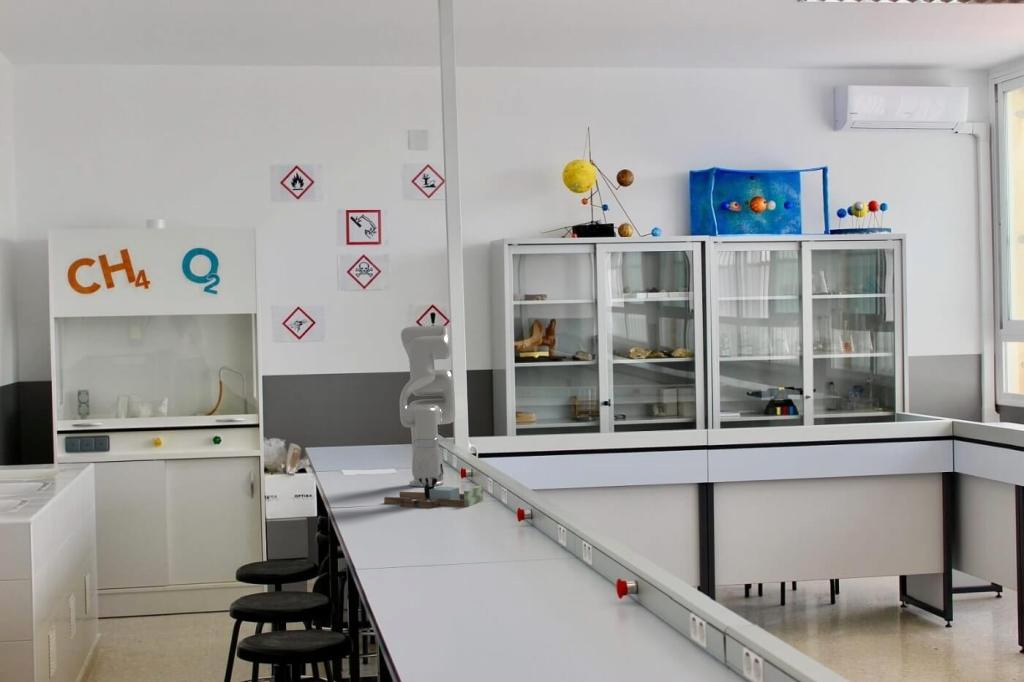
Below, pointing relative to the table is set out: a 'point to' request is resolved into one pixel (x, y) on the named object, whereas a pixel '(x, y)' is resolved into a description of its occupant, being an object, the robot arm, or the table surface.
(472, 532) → the table surface
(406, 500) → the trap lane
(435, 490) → the slate block
